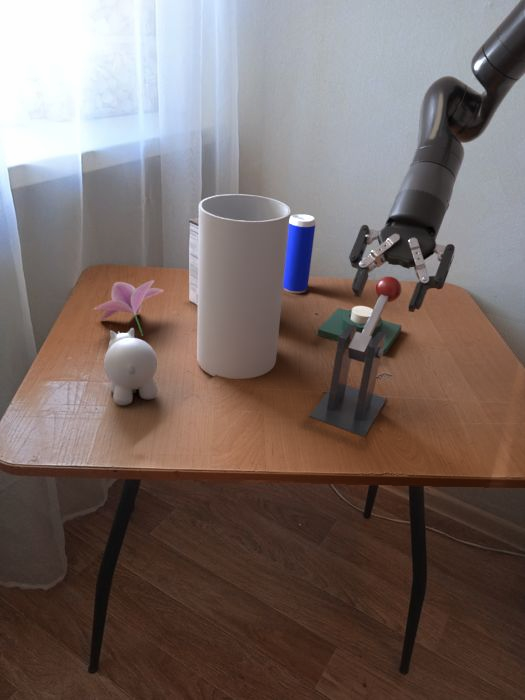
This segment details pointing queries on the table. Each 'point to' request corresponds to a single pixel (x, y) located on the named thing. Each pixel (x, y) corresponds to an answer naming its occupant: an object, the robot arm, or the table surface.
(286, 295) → the table surface
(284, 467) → the table surface
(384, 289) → the tap lever
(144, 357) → the chubby cartoon animal
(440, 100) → the robot arm
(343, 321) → the button box
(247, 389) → the table surface
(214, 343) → the cylinder vase
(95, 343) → the table surface
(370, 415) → the grey lever stand
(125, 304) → the lily
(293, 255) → the beverage can
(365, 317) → the button
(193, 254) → the coffee box
